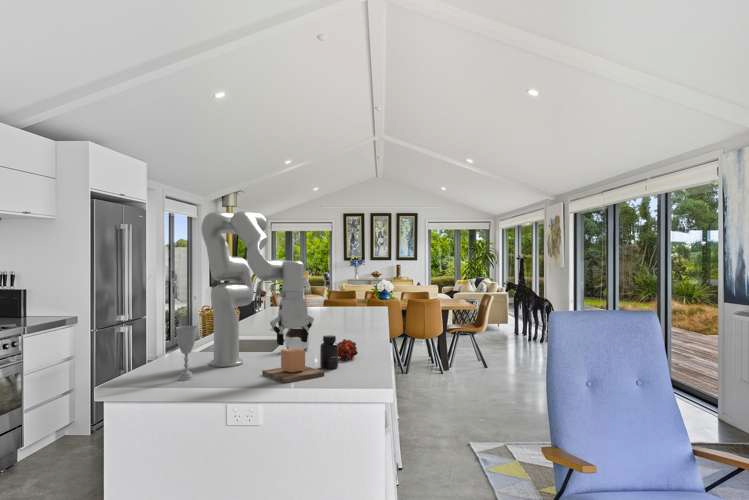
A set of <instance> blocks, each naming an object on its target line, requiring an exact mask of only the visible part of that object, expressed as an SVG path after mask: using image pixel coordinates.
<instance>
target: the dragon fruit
mask: <svg viewBox="0 0 749 500" xmlns="http://www.w3.org/2000/svg"><path fill="white" fill-rule="evenodd" d="M337 344H338V358H340V359H341V360H342V361H347V360H348V359H350V358H351V359H350V360H352V359H354V357H355V356H357V355H358V354H359V353H358V351H357V349H358V348H357V343H356V342H355V341H352V340H351V339H346V338H345V339H342V341H339V342H338V343H337Z"/></svg>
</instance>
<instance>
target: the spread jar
mask: <svg viewBox="0 0 749 500" xmlns="http://www.w3.org/2000/svg"><path fill="white" fill-rule="evenodd" d="M301 330H302V328H301V327H298V328H288V330H287V331H286V334H285V347H286V348H285V349H290V348H299V349H303V350H305V351H307V350H308V349H309V346H310V333H309V332H308V339H307V342H302V341H301Z"/></svg>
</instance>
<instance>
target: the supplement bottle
mask: <svg viewBox="0 0 749 500" xmlns="http://www.w3.org/2000/svg"><path fill="white" fill-rule="evenodd" d="M336 342H337V338H336V335H323V337H322V343H321V344H320V348H319V349H320V352H319V353H320V355H319V356H320V357H319V358H320V359H319V360H320V361H319V368H321V369H323V370H336V369H338V367H339V357H338V343H336Z"/></svg>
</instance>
